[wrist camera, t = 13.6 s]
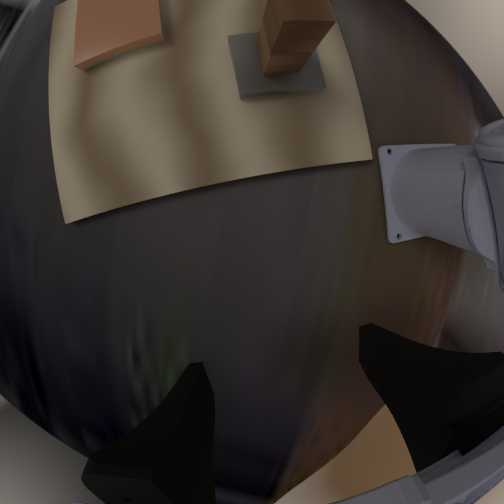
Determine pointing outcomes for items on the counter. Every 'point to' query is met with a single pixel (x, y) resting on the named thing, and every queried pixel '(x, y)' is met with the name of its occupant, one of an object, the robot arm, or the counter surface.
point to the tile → (114, 29)
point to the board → (188, 112)
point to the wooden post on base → (282, 49)
